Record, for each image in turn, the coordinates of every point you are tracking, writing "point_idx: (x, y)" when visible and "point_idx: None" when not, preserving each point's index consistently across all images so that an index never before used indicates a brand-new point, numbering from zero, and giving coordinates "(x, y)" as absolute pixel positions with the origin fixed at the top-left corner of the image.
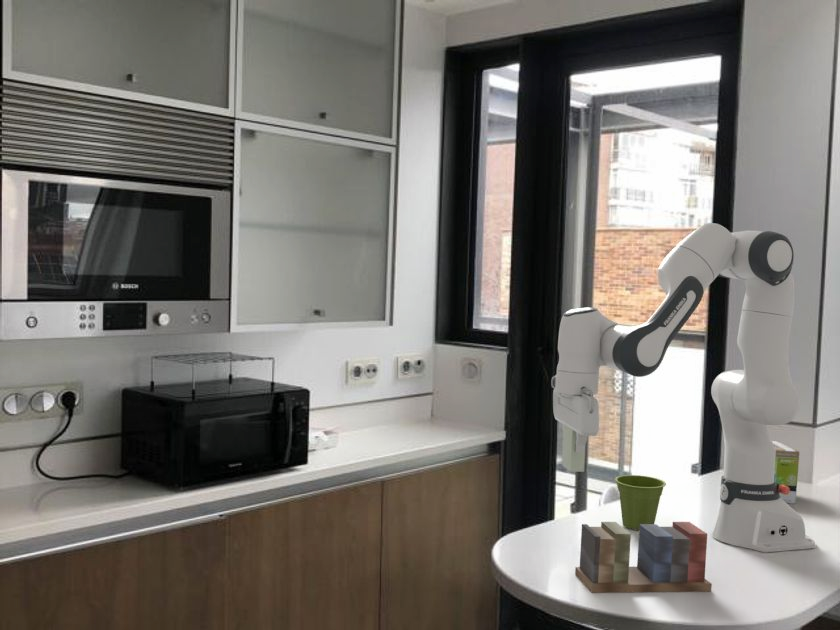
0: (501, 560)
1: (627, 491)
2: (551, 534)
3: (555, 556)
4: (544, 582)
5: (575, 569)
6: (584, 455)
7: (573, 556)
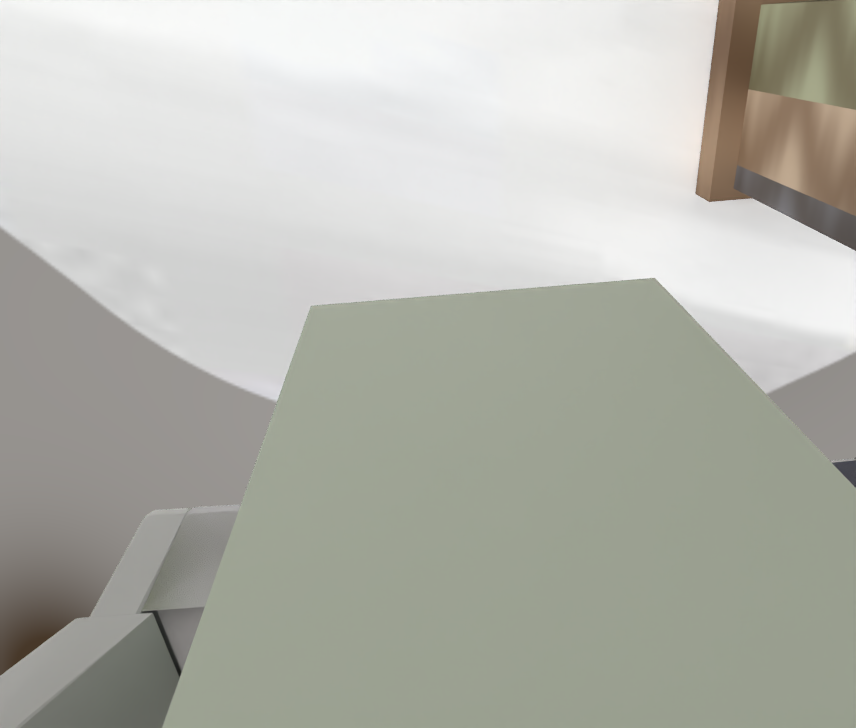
0: None
1: None
2: (113, 179)
3: (458, 229)
4: (759, 333)
5: (704, 198)
6: (749, 382)
7: (455, 142)
